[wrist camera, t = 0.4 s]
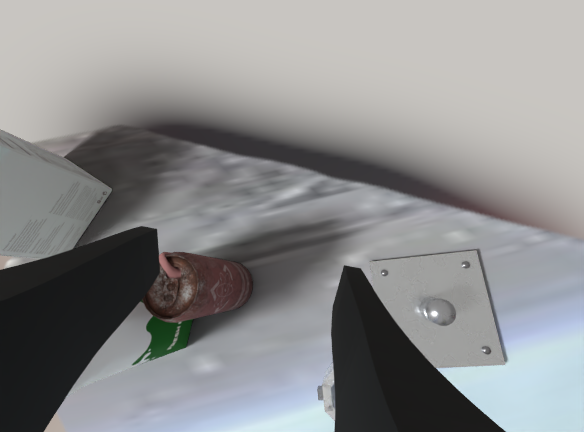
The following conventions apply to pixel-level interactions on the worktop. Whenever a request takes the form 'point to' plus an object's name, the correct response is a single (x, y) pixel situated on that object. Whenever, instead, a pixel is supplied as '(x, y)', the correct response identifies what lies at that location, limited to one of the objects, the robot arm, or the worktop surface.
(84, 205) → the supplement box
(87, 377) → the milk carton
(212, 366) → the worktop surface
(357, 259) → the worktop surface
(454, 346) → the duct plate
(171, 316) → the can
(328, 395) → the sleeve
